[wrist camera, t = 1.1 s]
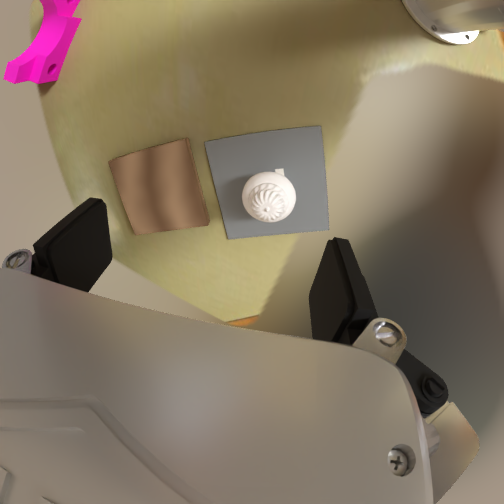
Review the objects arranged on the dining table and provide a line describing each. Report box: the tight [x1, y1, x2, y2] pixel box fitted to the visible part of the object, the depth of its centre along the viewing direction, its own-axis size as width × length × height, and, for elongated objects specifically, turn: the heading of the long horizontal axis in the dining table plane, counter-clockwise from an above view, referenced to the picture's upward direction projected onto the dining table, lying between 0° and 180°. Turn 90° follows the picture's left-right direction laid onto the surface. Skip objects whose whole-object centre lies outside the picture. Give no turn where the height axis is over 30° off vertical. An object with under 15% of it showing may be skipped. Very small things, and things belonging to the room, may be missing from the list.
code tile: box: [204, 126, 329, 239], centre depth 34 cm, size 14×14×1 cm
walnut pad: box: [109, 138, 210, 235], centre depth 35 cm, size 12×12×1 cm
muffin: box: [242, 172, 296, 222], centre depth 31 cm, size 6×6×7 cm
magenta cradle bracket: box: [4, 0, 82, 84], centre depth 19 cm, size 15×6×8 cm, turn 149°
